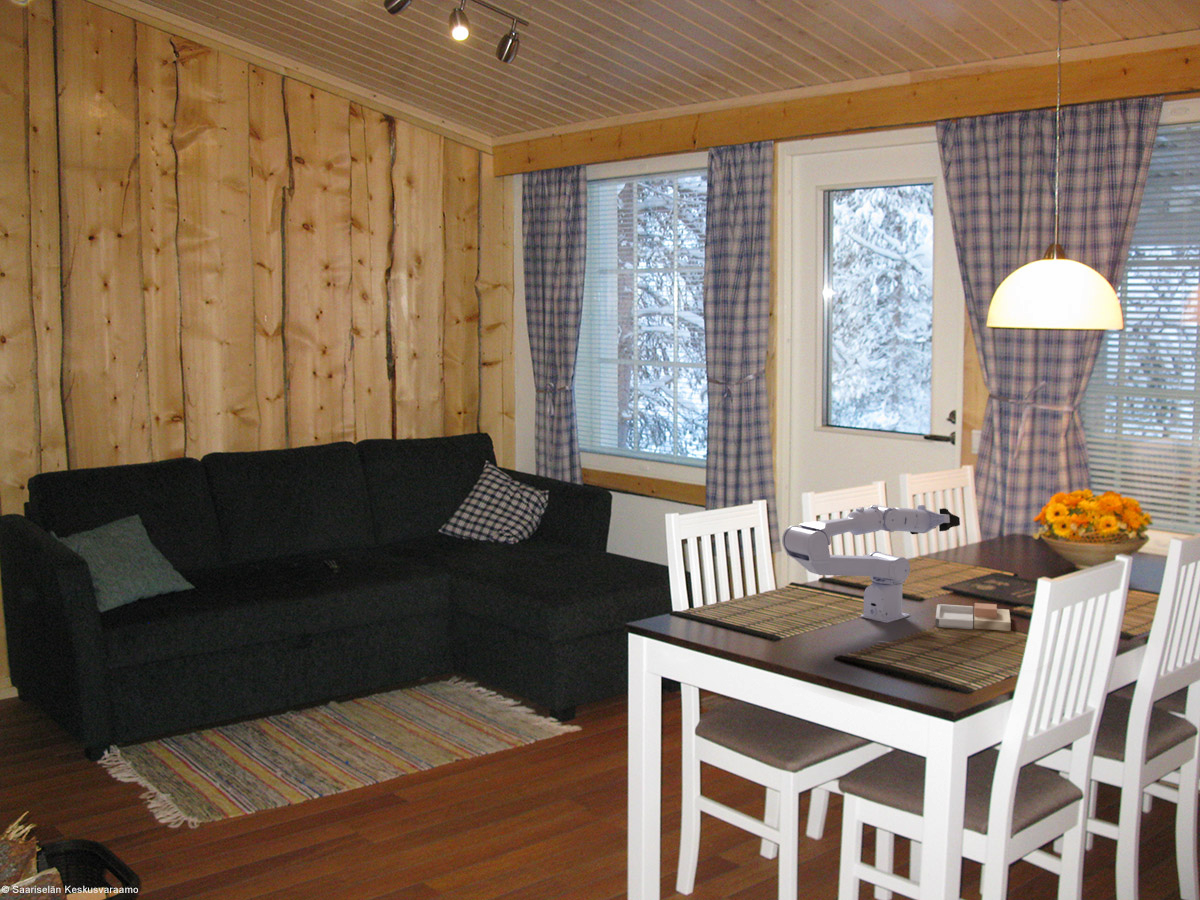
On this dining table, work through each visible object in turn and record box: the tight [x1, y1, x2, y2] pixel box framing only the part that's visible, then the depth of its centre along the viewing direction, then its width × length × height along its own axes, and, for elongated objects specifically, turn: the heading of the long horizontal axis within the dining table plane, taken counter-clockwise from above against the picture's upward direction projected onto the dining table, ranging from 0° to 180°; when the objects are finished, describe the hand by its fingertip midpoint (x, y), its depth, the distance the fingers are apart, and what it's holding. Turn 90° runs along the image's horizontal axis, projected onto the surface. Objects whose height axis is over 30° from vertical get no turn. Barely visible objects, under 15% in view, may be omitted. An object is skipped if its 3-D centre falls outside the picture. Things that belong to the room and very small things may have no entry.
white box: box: [973, 606, 1012, 632], centre depth 266 cm, size 8×12×2 cm, turn 162°
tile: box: [973, 602, 998, 618], centre depth 266 cm, size 5×5×2 cm
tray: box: [935, 603, 974, 630], centre depth 269 cm, size 8×14×2 cm, turn 162°
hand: (946, 522), depth 282 cm, fingers open, 7 cm apart
